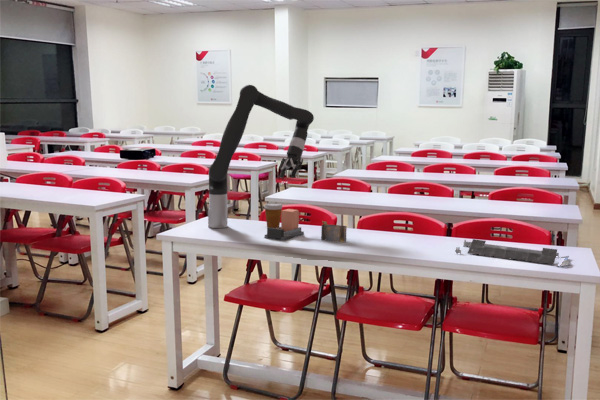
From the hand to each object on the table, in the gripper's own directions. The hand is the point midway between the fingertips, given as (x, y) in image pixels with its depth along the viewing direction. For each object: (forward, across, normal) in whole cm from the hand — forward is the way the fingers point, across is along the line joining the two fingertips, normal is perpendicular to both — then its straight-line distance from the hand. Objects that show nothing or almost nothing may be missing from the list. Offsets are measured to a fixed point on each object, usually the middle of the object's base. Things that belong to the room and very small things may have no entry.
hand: (286, 177), depth 289 cm
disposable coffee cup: (+23, -12, +11) cm, 29 cm away
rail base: (+30, +8, +3) cm, 31 cm away
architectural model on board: (+27, +30, +15) cm, 43 cm away
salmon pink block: (+26, +7, +6) cm, 28 cm away
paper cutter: (+17, +98, +52) cm, 112 cm away
